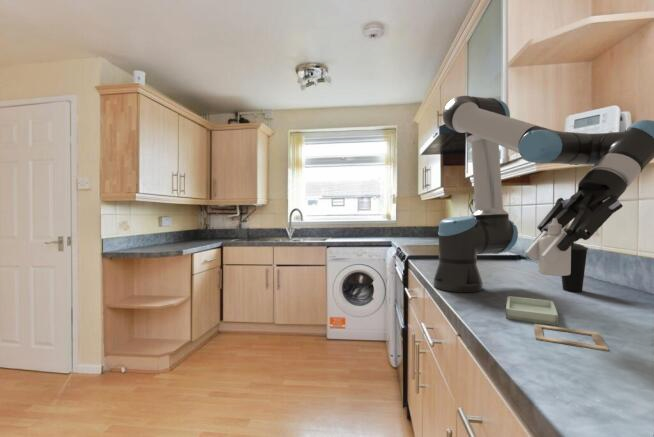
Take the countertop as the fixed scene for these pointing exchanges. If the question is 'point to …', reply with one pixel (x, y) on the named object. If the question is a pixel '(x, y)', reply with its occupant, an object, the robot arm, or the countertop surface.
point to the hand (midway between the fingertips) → (538, 258)
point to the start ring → (596, 337)
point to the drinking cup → (576, 269)
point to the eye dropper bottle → (564, 260)
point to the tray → (531, 310)
